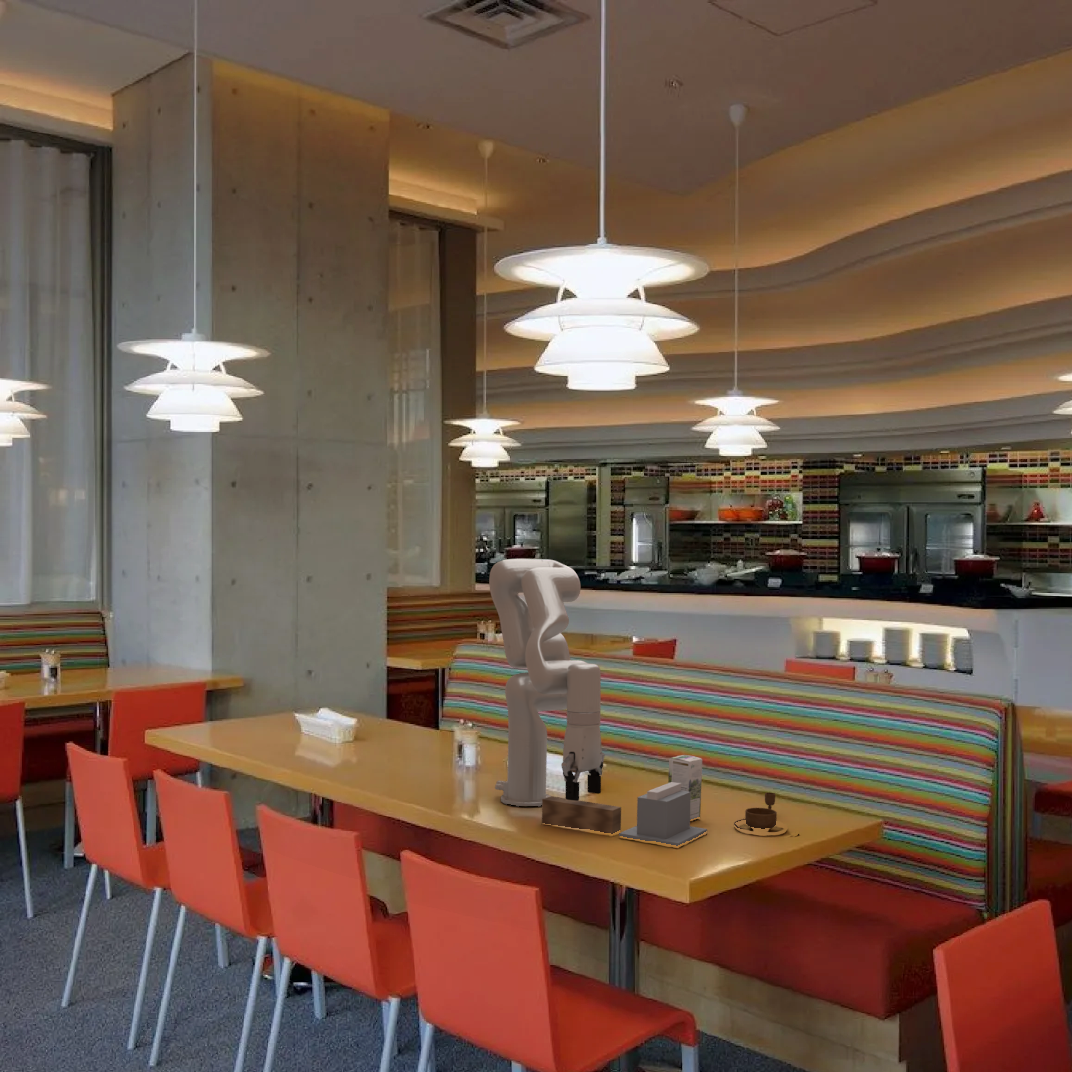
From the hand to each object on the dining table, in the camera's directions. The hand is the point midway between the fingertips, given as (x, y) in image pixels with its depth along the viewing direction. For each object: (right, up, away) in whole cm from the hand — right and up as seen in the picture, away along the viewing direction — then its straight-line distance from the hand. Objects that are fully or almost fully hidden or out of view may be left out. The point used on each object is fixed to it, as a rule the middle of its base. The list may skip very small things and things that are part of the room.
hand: (583, 796), depth 263 cm
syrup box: (+24, -8, +11) cm, 28 cm away
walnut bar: (-1, -8, +1) cm, 8 cm away
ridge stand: (+17, -8, -4) cm, 20 cm away
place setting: (+43, -9, +6) cm, 44 cm away
